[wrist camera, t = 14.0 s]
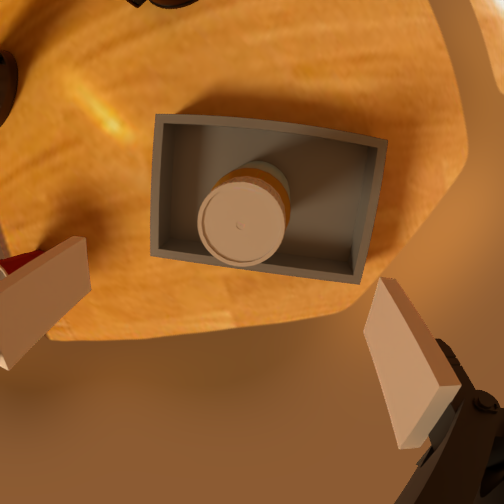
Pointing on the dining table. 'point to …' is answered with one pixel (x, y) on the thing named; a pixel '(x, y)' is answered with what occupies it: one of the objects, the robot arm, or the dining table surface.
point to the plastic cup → (16, 262)
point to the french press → (163, 3)
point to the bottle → (246, 214)
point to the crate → (299, 180)
